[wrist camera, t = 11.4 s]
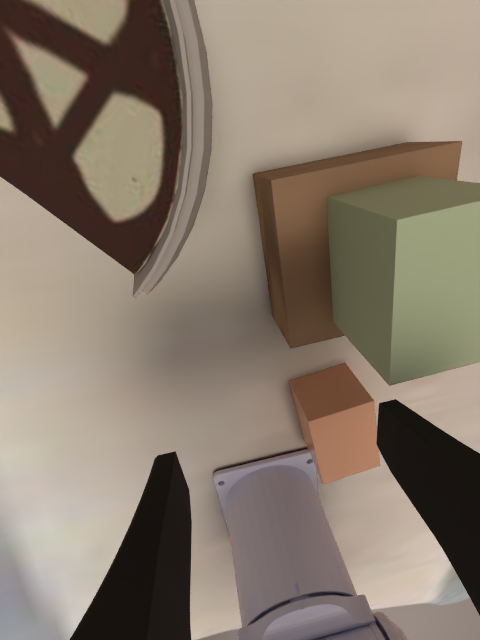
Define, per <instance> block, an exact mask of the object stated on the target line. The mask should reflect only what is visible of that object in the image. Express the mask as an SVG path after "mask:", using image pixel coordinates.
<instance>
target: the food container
mask: <svg viewBox="0 0 480 640" xmlns="http://www.w3.org/2000/svg"><path fill="white" fill-rule="evenodd" d="M211 143H212V97H211V88H210V79H209V70H208V61H207V52H206V48H205V44H204V40H203V35H202V31H201V27H200V23H199V19H198V15H197V10H196V6H195V2H194V0H0V177H2V178H3V179H5V180H6V181H7V182H9V183H10V184H12V185H13V186H15V187H16V188H17V189H19V190H20V191H22V192H23V193H25V194H26V195H27V196H29V197H30V198H31V199H33V200H34V201H36V202H37V203H38V204H40V205H41V206H42V207H44V208H45V209H46V210H48V211H49V212H50V213H52V214H53V215H55V216H56V217H57V218H59V219H60V220H61V221H63V222H64V223H65V224H67V225H68V226H69V227H71V228H72V229H74V230H75V231H76V232H78V233H79V234H80V235H82V236H83V237H84V238H86V239H87V240H88V241H90V242H91V243H93V244H94V245H95V246H97V247H98V248H99V249H101V250H102V251H103V252H105V253H106V254H108V255H109V256H110V257H112V258H113V259H114V260H116V261H117V262H118V263H120V264H121V265H122V266H124V267H125V268H127V269H128V270H129V271H131V272H132V273H133V274H134V288H133V297H134V298H137V296H138V295H139V294H140V292H141V291H143V292H145V293H146V294H148V293H149V292H150V291H151V290H152V289H153V288H154V287H155V286H156V285H157V284H158V283H159V282H160V281H161V279H162V278H163V276H164V275H165V274H166V272H167V271H168V270H169V268H170V267H171V265H172V264H173V263H174V261H175V260H176V258H177V257H178V255H179V253H180V251H181V249H182V247H183V245H184V243H185V241H186V239H187V237H188V235H189V233H190V232H191V230H192V228H193V225H194V222H195V219H196V216H197V213H198V210H199V207H200V204H201V201H202V197H203V194H204V191H205V186H206V180H207V174H208V167H209V161H210V155H211Z"/></svg>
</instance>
